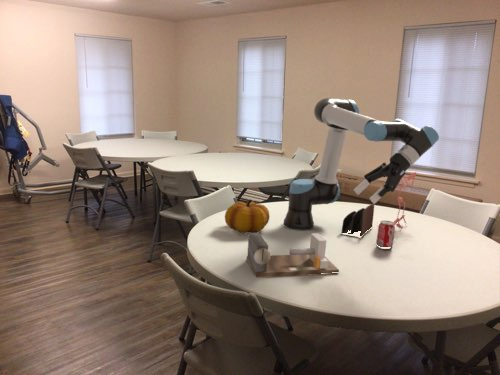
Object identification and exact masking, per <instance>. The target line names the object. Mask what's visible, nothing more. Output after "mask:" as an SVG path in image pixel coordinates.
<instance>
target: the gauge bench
mask: <svg viewBox="0 0 500 375" xmlns="http://www.w3.org/2000/svg"><path fill="white" fill-rule="evenodd" d="M325 258H326V259H327V260H328V268H323V269H320V268H319V269H316V268H315V267H314V262H313V261H312V260H311V259H310V258H309V255H290V254H281V255H280V254H278V255H277V254H276V255H274V254H273V255H271V252H270V251H269V245H268V243H267V241H266V240H265V239H264V238H263V236H262V235H261V234H260V232H258V233H251V232H248V242H247V256H246V261H247V263H248V265H249V267H250V268H251V270H252V272H253V274H254V275H255V278H262V277H266V278H267V277H289V276H291V277H293V276H308V275H309V274H317V275H322V274H321V273H332V272H340V269H339V268H338V267H336V266H335V264H333V262H331V261H330V260H329V259H328V258H327V257H326V256H325ZM309 276H310V275H309Z"/></svg>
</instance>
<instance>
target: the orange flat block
mask: <svg viewBox="0 0 500 375" xmlns="http://www.w3.org/2000/svg"><path fill="white" fill-rule="evenodd" d="M314 267H315V268H316V269H319V268H320V258H319V256H318V255H317V256H314Z"/></svg>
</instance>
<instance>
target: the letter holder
mask: <svg viewBox="0 0 500 375" xmlns="http://www.w3.org/2000/svg"><path fill="white" fill-rule="evenodd" d="M374 213H375V204H373V203H372V204H369V205H367V206H366V207H363V208H360V209H359V210H357V211H356V210H353V211H351V212H350V213H348V214H346V216H345V217H344V218H343V220H342V226H341V233H347V232H348V230H349V231H350V230H351V233H348V234H353V233H354V232H358V231H361V233H360V236H362V235H363V234H364V233H365V232H366V231H367V230H369V229H370V228H371V227H372V228H373V222H374V215H375V214H374ZM341 233H340V234H341Z"/></svg>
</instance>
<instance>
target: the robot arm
mask: <svg viewBox="0 0 500 375" xmlns="http://www.w3.org/2000/svg"><path fill="white" fill-rule="evenodd" d="M313 114H314V118H315V119H316V120H317V121H318V122H320V123H322V124H325V125H326V127H327V128H328V130H327V131H328V132H327V136H326V139H325V145H324V150H323V153H322V157H321V162H320V168H319V172H318V174H316V175H315V176H314V179H309V178H299V179H295V180H292V182H291V183H290V184H289V185H290V186H289V197H288V208H287V209H288V210H287V212H286V214H285V218H284V219H283V226H284V227H286V228H288V229H290V230H296V231H309V229H310V230H313V229H314V226H315V225H314V224H315V222H314V218H313V217H314V216H313V213H312V211H313V210H312V207H313V206H316V205H319V206H320V205H329V204H333V203H335V202H336V201H337V200H338V199H339V197H340V194H341V189H340V185H339V182H338V178H336V177H337V172H338V169H339V165H340V161H341V157H342V152H343V148H344V144H345V139H346V136H347V133H348V132H349V131H351V132H354V133H356V134H359V135H361V136H363V137H365V139H366V140H368V141H371V142H400V143H403V144H404V145H402V147H401V148H400V149H398V151H397V152H395V153H394V154H393V155H392V156H391V157H390V158H389V163H388V164H386V162H383V163H382V164H381V165H379V166H377V167H376V168H374V169H373V170H371V171H370V172H369V171H368V173H366V174H364V175H363V177H364V179H363V181H361V182H360V183H359V184H358V185H357V186H356V187H355V188H354V189H353V192H355V194H356V195H357V196H359V195H360V194H361V193H362V192H363V191H364V190H366V188H368V186H370V185H371V183H372V182H374V181H376V180H379V179H381V178H386V181H385V182H384V184H383V185H382V186H381V187H380V188H378V190H376V191H375V193H374V194H372V195H371V196H370V197H369V200H370V201H371V202H372V204H374V205H376V203H378V201H379V200H380V199H381V198H382V197H384V196H385V195H386V194H387V193H390V192H391V193H393V192H394V191H395V190H396V188H397V187H398V186H399V185H398V183H399V182H400V183H401V181H400V180H401V178H402V177H403V176H405V175H406V171H407V170H408V169H409V168H410V167H411V166H413V165H414V164H415V163H416V162H417V161H418V160H419V159H420V158H421V157H422V156H423V155H424V154H425V153H427V152H428V151H429V150H430V149H431V148H432V147H433V146H434V145H435V144H436V143H437V142H438V141H439V139H440V135H439V133H438V132H437V130H436V129H435V128H434V127H432V126H430V125H424V126H423V127H421V128H418V127H416V126H415V125H414V124H410V123H409V122H407V121H405V120H403V119H399V118H395V119H393V120H391V121H383V120H380V119H375V118H372V117H370V116H366V115H363V114H360V109H359V106H358V104H357V102H355V101H354V100H353V99H347V98H334V97H333V98H332V97H331V98H330V97H326V98H325V97H324V98H323V99H320V100H318V102H317V103H316V104H315V106H314V108H313ZM403 178H404V177H403ZM403 178H402V179H403ZM400 183H399V184H400Z"/></svg>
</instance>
